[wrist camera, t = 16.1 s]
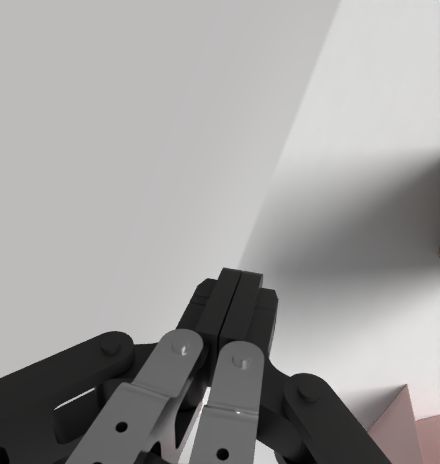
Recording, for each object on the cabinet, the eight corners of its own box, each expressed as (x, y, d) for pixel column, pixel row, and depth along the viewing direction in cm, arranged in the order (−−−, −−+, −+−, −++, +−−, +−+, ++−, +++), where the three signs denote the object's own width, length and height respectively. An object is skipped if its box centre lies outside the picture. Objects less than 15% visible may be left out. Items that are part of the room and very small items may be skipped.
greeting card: (368, 438, 58) (379, 556, 45) (341, 403, 56) (345, 516, 44) (449, 417, 53) (488, 544, 40) (422, 379, 51) (454, 498, 38)
